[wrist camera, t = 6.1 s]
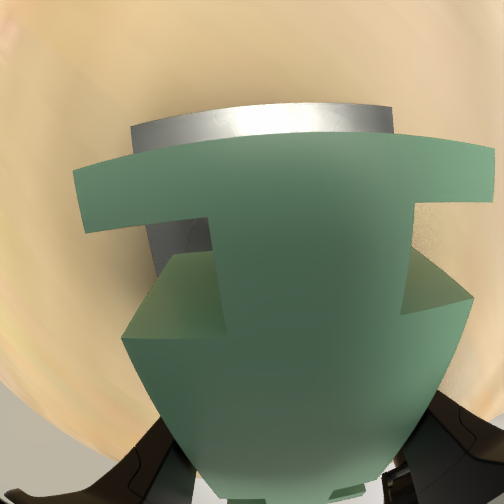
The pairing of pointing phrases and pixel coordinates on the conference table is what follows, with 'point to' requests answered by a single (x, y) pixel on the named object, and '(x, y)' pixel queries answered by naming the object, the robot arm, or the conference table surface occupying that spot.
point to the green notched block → (293, 301)
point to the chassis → (235, 125)
